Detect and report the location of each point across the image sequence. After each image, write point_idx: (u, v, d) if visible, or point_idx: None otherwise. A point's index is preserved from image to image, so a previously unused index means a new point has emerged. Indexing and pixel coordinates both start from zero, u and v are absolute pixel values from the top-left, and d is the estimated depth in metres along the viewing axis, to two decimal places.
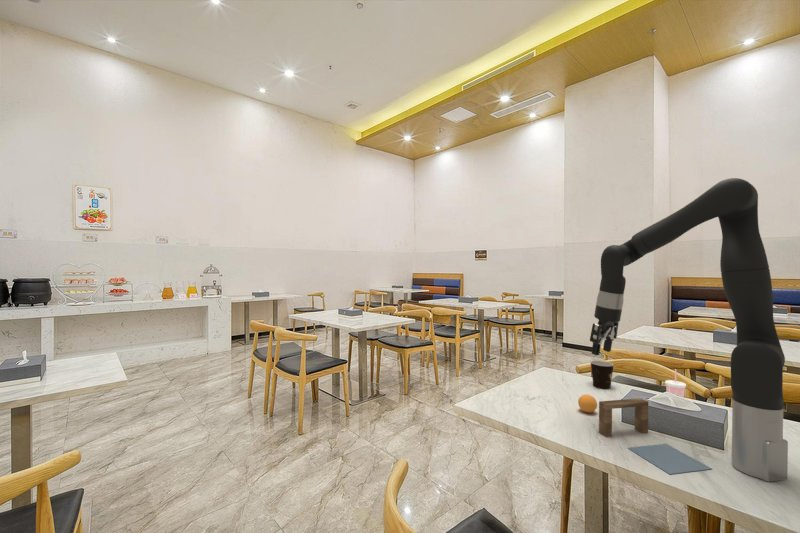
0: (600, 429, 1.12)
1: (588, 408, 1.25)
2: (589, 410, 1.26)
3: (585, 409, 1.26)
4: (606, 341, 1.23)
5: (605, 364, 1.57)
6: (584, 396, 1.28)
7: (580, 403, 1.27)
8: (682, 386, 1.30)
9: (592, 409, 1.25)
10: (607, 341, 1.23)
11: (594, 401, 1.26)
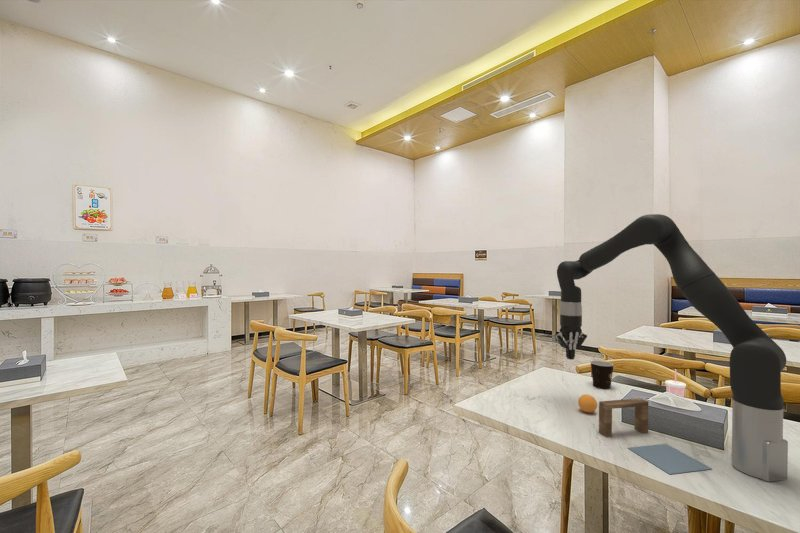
0: (600, 429, 1.12)
1: (588, 408, 1.25)
2: (589, 410, 1.26)
3: (585, 409, 1.26)
4: None
5: (605, 364, 1.57)
6: (584, 396, 1.28)
7: (580, 403, 1.27)
8: (682, 386, 1.30)
9: (592, 409, 1.25)
10: None
11: (594, 401, 1.26)
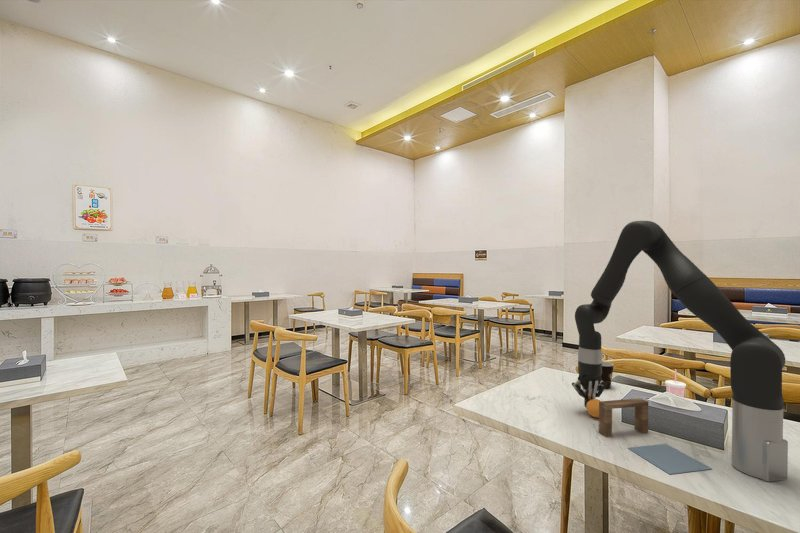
0: (600, 429, 1.12)
1: (593, 416, 1.23)
2: None
3: (589, 413, 1.24)
4: None
5: (605, 364, 1.57)
6: (597, 408, 1.21)
7: (588, 409, 1.23)
8: (682, 386, 1.30)
9: None
10: None
11: None
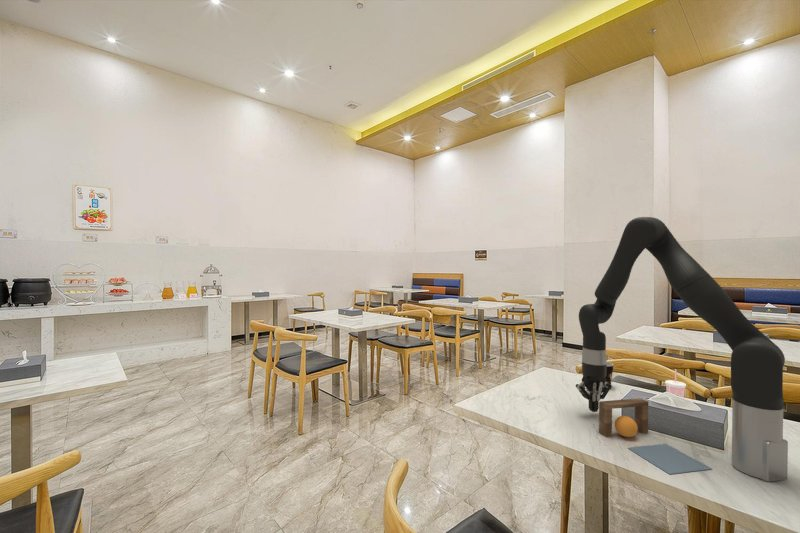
0: (600, 429, 1.12)
1: (627, 427, 1.07)
2: (629, 431, 1.07)
3: (624, 430, 1.08)
4: None
5: None
6: (619, 417, 1.11)
7: (617, 425, 1.10)
8: (682, 386, 1.30)
9: (632, 428, 1.07)
10: None
11: (632, 419, 1.09)
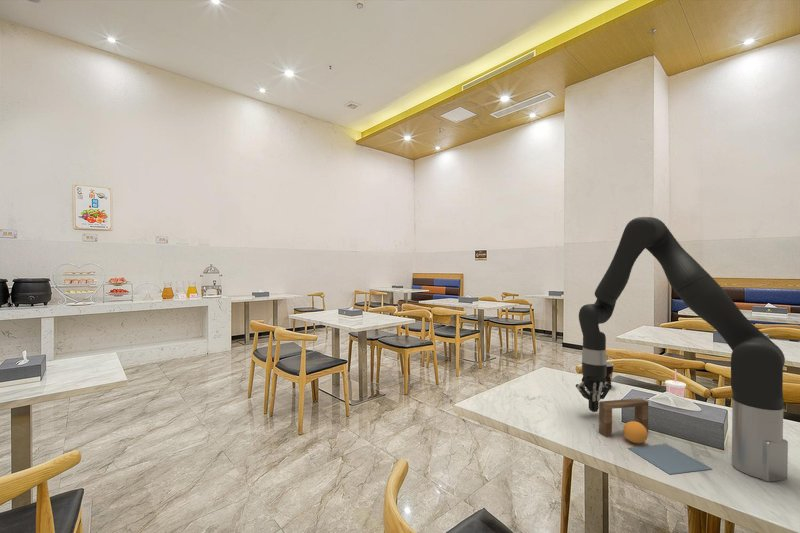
0: (600, 429, 1.12)
1: (635, 442, 1.04)
2: (633, 442, 1.05)
3: (630, 440, 1.05)
4: None
5: None
6: (636, 428, 1.04)
7: (627, 432, 1.05)
8: (682, 386, 1.30)
9: None
10: None
11: (645, 437, 1.04)
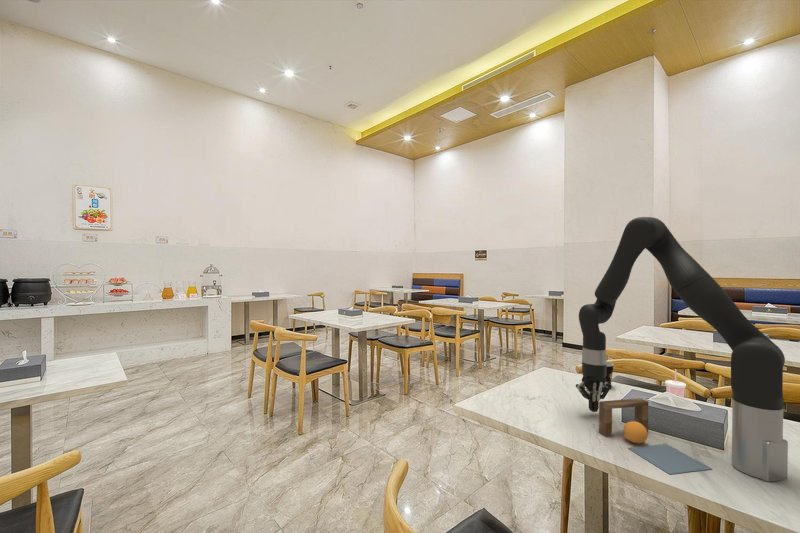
0: (600, 429, 1.12)
1: (635, 442, 1.04)
2: (633, 442, 1.05)
3: (630, 440, 1.05)
4: None
5: None
6: (636, 428, 1.04)
7: (627, 432, 1.05)
8: (682, 386, 1.30)
9: None
10: None
11: (645, 437, 1.04)
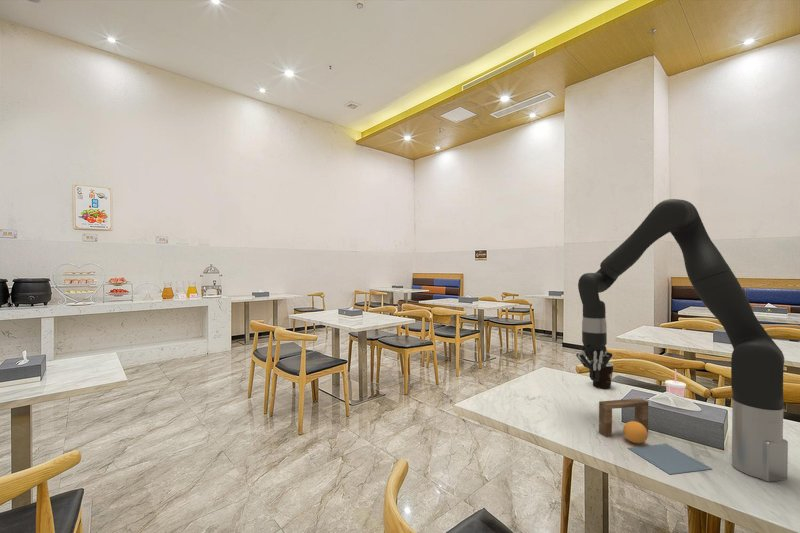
0: (600, 429, 1.12)
1: (635, 442, 1.04)
2: (633, 442, 1.05)
3: (630, 440, 1.05)
4: None
5: None
6: (636, 428, 1.04)
7: (627, 432, 1.05)
8: (682, 386, 1.30)
9: None
10: None
11: (645, 437, 1.04)
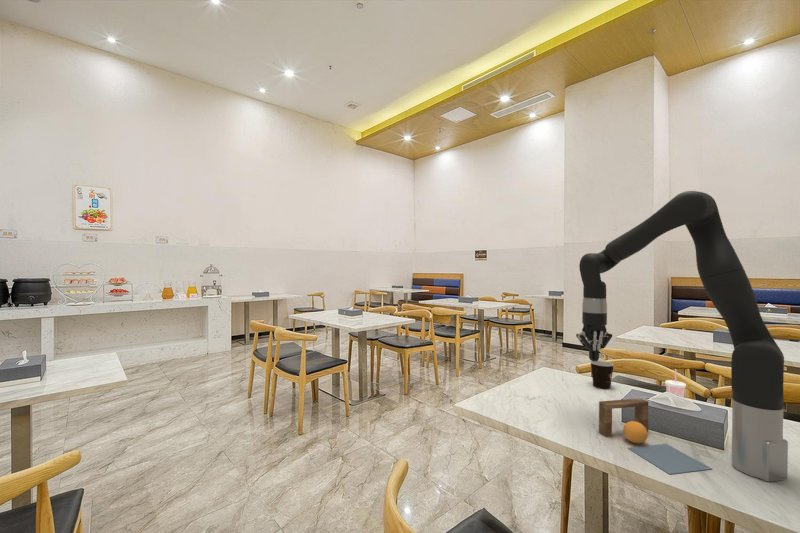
0: (600, 429, 1.12)
1: (635, 442, 1.04)
2: (633, 442, 1.05)
3: (630, 440, 1.05)
4: None
5: (605, 364, 1.57)
6: (636, 428, 1.04)
7: (627, 432, 1.05)
8: (682, 386, 1.30)
9: None
10: None
11: (645, 437, 1.04)
